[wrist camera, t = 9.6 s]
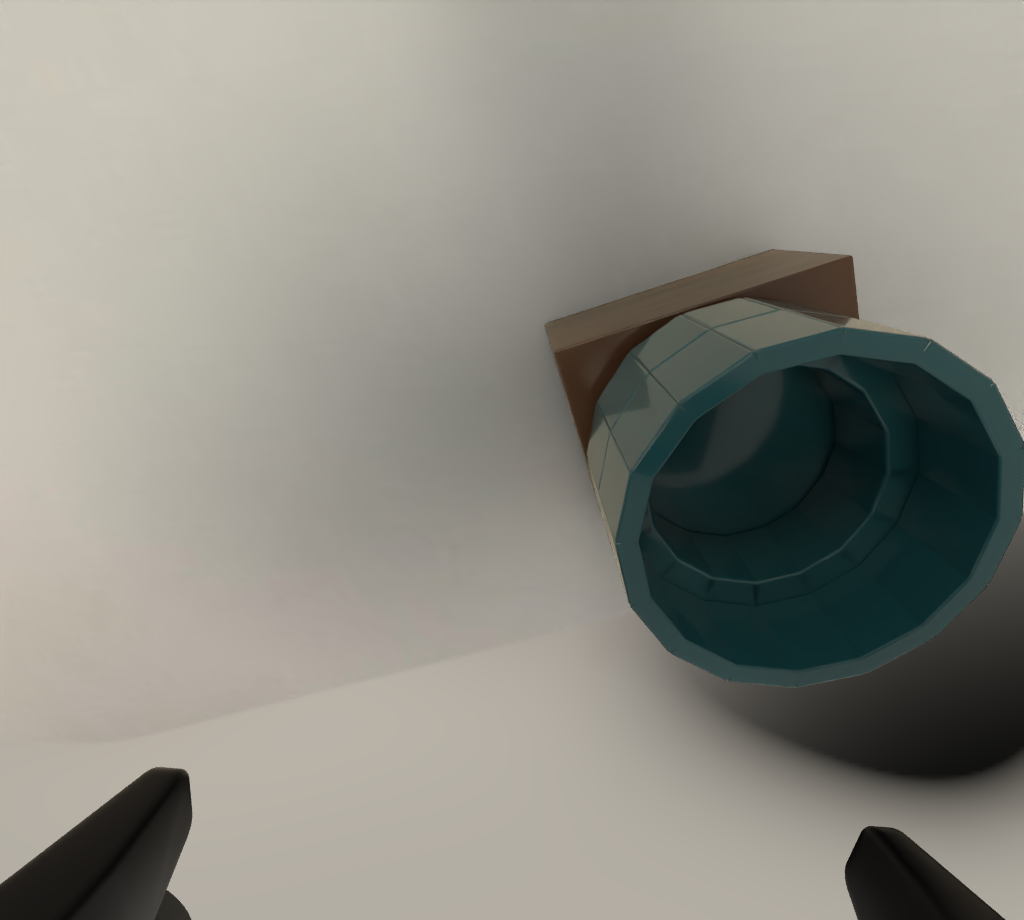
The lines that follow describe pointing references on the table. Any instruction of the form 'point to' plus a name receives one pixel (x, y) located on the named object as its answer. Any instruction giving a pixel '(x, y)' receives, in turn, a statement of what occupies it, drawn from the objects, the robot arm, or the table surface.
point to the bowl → (801, 489)
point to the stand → (629, 321)
